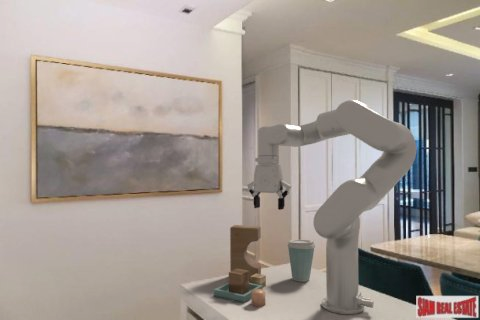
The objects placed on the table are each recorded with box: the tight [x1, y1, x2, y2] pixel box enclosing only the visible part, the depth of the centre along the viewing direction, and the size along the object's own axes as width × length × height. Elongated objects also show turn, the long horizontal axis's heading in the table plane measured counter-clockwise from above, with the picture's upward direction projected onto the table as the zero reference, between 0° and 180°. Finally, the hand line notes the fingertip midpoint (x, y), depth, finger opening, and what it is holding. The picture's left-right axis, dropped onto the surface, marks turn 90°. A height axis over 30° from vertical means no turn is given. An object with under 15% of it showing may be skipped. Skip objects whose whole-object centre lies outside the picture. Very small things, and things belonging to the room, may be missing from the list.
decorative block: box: [229, 224, 262, 281], centre depth 135 cm, size 11×6×20 cm, turn 72°
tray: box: [213, 281, 264, 304], centre depth 118 cm, size 12×12×2 cm
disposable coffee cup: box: [287, 239, 316, 282], centre depth 134 cm, size 11×11×15 cm
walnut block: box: [228, 269, 250, 295], centre depth 118 cm, size 5×5×7 cm
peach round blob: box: [250, 289, 266, 308], centre depth 109 cm, size 4×4×4 cm
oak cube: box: [250, 273, 267, 289], centre depth 125 cm, size 4×4×4 cm
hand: (268, 208), depth 125 cm, fingers open, 9 cm apart
